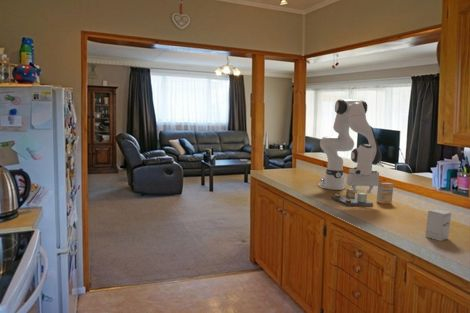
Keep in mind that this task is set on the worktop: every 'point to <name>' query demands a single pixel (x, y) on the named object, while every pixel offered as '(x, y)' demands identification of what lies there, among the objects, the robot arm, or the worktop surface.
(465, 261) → the worktop surface
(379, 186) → the supplement box
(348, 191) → the beige block
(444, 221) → the supplement box
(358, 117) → the robot arm
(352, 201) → the plate
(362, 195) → the pale green rectangular block
